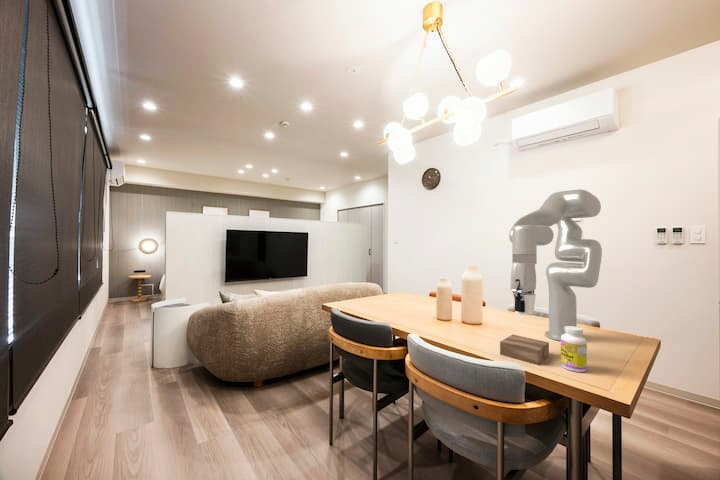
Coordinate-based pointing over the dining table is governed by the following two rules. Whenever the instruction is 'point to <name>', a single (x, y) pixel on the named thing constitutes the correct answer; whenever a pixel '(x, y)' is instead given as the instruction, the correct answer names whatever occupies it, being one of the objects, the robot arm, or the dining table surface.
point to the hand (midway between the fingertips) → (524, 309)
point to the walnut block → (524, 349)
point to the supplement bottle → (573, 349)
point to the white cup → (528, 304)
